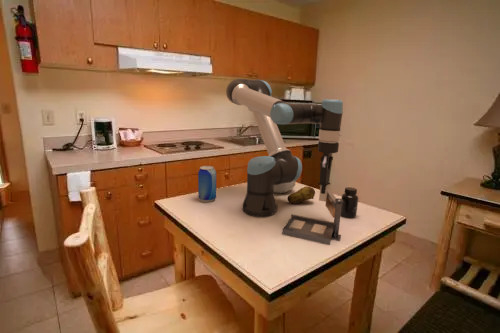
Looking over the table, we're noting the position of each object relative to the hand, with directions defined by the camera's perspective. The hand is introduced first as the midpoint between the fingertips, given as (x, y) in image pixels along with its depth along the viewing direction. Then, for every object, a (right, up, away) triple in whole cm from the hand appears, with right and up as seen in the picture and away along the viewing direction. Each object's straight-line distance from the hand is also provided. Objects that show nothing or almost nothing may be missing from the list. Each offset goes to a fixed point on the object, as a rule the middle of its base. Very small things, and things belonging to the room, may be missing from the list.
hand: (322, 200), depth 112 cm
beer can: (-49, -3, +24) cm, 55 cm away
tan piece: (+2, -4, -2) cm, 5 cm away
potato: (-5, -4, +23) cm, 24 cm away
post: (+2, -12, -10) cm, 16 cm away
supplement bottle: (+13, -8, +10) cm, 19 cm away
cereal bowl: (-13, 0, +40) cm, 42 cm away
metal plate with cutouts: (-7, -11, -6) cm, 14 cm away
